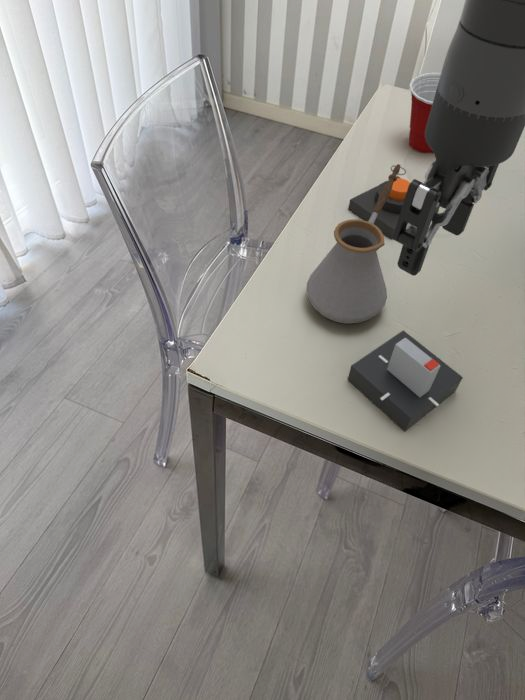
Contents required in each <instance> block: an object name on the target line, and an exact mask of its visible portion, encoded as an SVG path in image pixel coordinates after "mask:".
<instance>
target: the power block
mask: <svg viewBox="0 0 525 700" xmlns="http://www.w3.org/2000/svg"><path fill="white" fill-rule="evenodd" d="M396 177H397V178H401V176H399V175H397V176H396ZM387 182H388V180H386V181H383V182H382V183H379V184H378V185H376V186H374V187H372V188H370V189H368V190H365V191H364V192H362V193H360V194H358V195H356V196H354V197H352V198H351V199H349V203H348V209H347V210H348V211H349V212H351V213H352V214H354V215H355V216H356V217H357V218H359V219H360V220H364V221H369V219H370V217H371V215H372V212H373V210H374V208H375V205H376V203H377V200H378V198H379V196H380V193H381V191H382V189H383V187H384V186H385V185H386V183H387ZM403 203H404V200H401V201H398V200H394V199H391V198H390V197H388V198H387V200H386V202H385V204H384V205H383V207H382V209H381V211H380V213H379V214H378V215H377V217H376V220H375V222H374V225H376V226H377V227H378V228H379V229H380V230H381V231H382V234H383V236H385V237H386V238H388V239H389V240H393V235H394V232H395V229H396V225H397V222H398V219H399V216H400V212H401V209H402V206H403ZM440 208H441V207H440V206H438V207H437V208H436V209H435V212H436V213H439V211H440Z"/></svg>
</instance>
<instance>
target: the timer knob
mask: <svg viewBox="0 0 525 700" xmlns="http://www.w3.org/2000/svg"><path fill="white" fill-rule="evenodd" d="M439 368H440V365H439V363H438V362H436V361H435V360H434V359H432V358H430V357H429V356H428V355H427V354H425V353H424V352H423V351H422V350H420V349H419V348H418V347H417V346H415V345H414V344H413V343H412V342H410V341H409V340H408V339H407V338H404V339H402V340H401V341H400V342H398V343H397V344H396V345H395V347H394V350H393V353H392V356H391V359H390V362H389V365H388V368H387V370H388V371H389V372H390V373H391V374H393V375H394V376H395V377H396V378H397V379H399V380H400V381H401V382H402V383H403V384H404V385H406V386H407V387H408V388H409V389H410V390H411V391H413V392H414V393H415V394H416V395H417V396H418V397H422V396H423V395H424V394H426V393H427V392H428V391H429V390H430V388H431V386H432V384H433V381H434V379H435V377H436V375H437V373H438V371H439Z"/></svg>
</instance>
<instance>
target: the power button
mask: <svg viewBox="0 0 525 700" xmlns="http://www.w3.org/2000/svg"><path fill="white" fill-rule="evenodd" d="M410 183H411V181H409V180H407V179H406V178H405V179H404V178H401V177H400V178H397V180H396V181H395V182H394V183H393V186H392V189H391V193H390V195H389V196H388V197H390V198H391V199H394V200H398V201H401V200H404V199H405V196H406V193H407V190H408V186H409V184H410Z"/></svg>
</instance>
